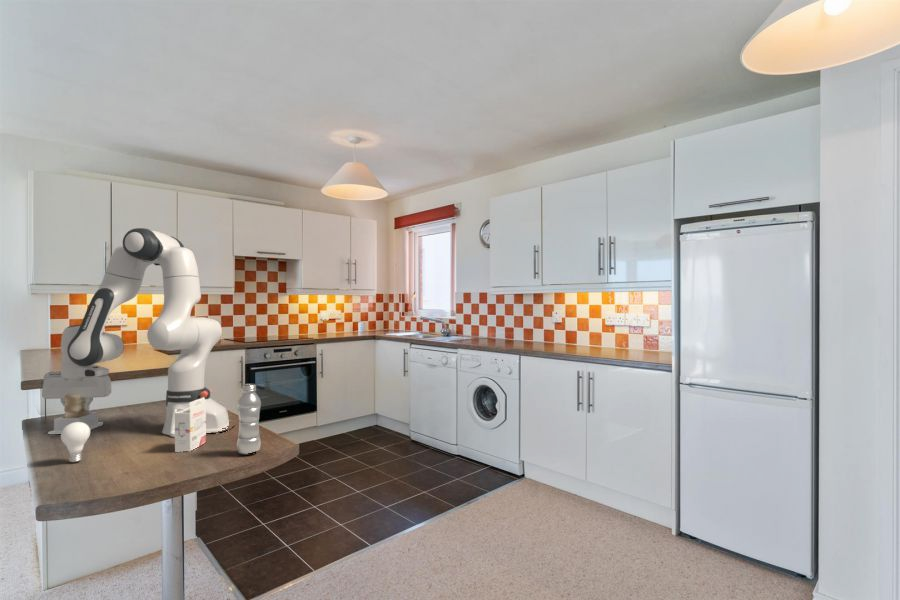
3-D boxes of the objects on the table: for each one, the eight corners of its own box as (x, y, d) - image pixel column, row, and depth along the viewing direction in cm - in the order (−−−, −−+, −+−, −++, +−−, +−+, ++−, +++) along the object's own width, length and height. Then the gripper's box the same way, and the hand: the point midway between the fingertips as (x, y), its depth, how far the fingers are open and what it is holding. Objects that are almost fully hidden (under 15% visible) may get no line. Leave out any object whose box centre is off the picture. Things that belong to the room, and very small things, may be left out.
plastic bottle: (255, 448, 138) (255, 382, 138) (264, 453, 133) (264, 384, 133) (233, 453, 133) (233, 384, 133) (241, 458, 128) (242, 387, 128)
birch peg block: (88, 420, 162) (89, 391, 162) (77, 424, 156) (77, 395, 156) (76, 420, 162) (76, 392, 162) (64, 424, 156) (64, 395, 156)
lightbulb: (65, 467, 121) (66, 426, 121) (56, 463, 125) (56, 423, 125) (94, 461, 127) (94, 421, 127) (84, 457, 130) (84, 418, 130)
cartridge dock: (102, 424, 165) (103, 410, 166) (81, 433, 154) (81, 418, 154) (72, 425, 164) (72, 411, 164) (48, 435, 152) (48, 420, 152)
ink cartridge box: (190, 443, 142) (191, 396, 143) (206, 443, 142) (206, 396, 142) (173, 452, 134) (173, 402, 134) (190, 452, 134) (190, 402, 134)
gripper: (37, 373, 154) (36, 413, 154) (103, 371, 157) (103, 411, 157) (50, 370, 161) (50, 409, 161) (114, 369, 164) (113, 407, 163)
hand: (77, 410), depth 159 cm, fingers closed on birch peg block, 4 cm apart
